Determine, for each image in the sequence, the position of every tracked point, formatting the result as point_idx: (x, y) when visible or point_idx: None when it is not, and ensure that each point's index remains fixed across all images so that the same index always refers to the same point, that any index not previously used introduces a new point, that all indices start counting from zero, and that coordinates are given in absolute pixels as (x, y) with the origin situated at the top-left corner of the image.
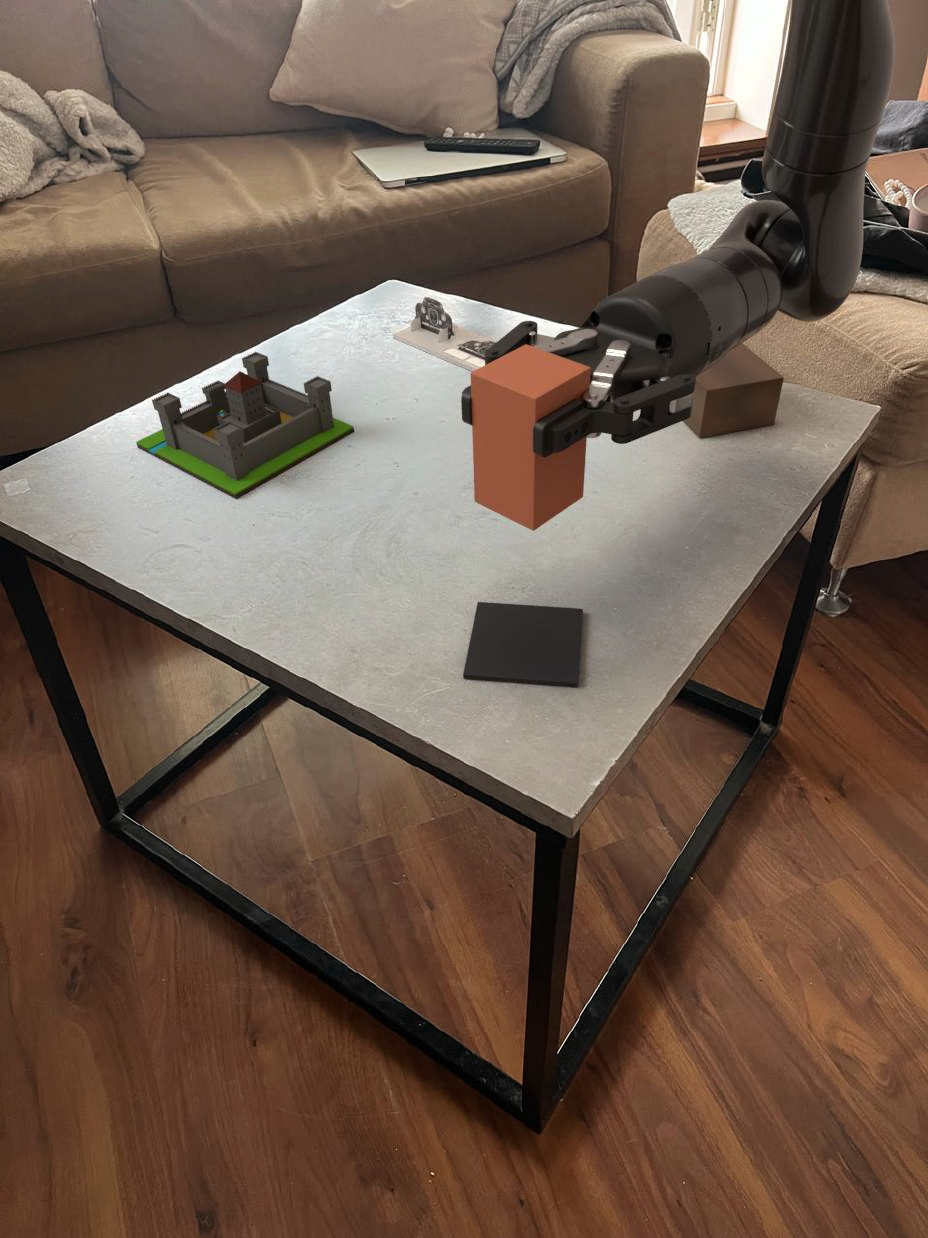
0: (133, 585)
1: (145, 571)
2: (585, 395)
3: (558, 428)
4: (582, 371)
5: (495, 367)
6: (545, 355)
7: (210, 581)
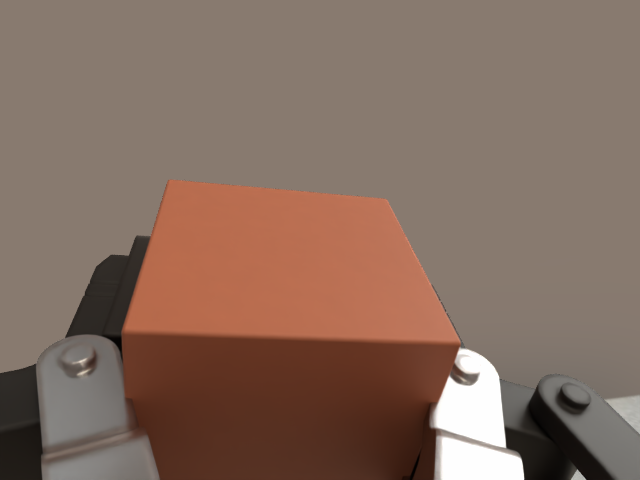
0: (606, 400)
1: (630, 418)
2: (109, 352)
3: (111, 262)
4: (134, 297)
5: (371, 226)
6: (332, 315)
7: None
